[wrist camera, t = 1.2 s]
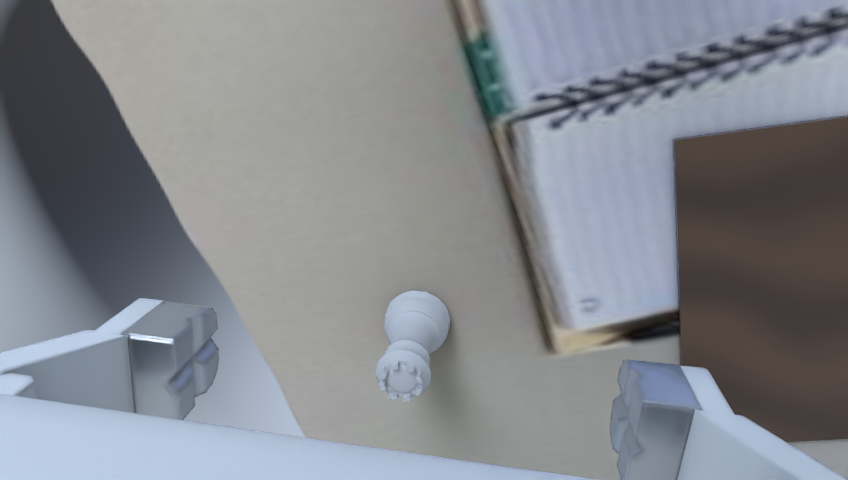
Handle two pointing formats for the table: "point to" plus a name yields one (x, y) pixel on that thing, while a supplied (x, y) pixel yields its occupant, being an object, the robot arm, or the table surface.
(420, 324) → the rook chess piece
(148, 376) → the robot arm
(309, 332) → the table surface
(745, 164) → the brown wooden board
